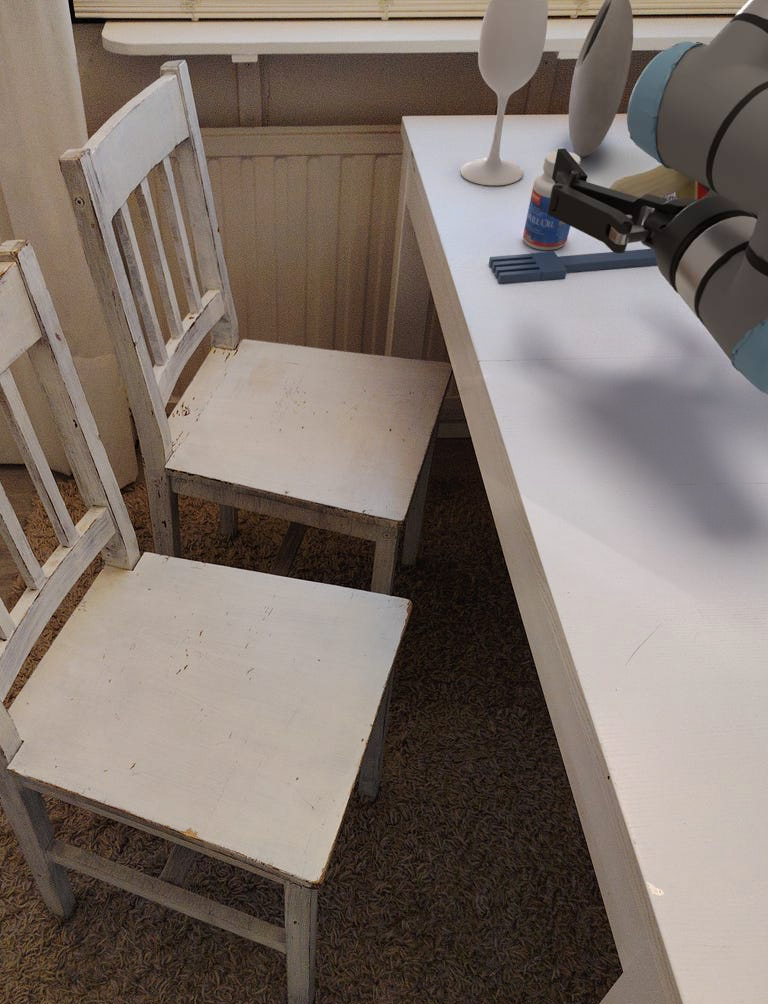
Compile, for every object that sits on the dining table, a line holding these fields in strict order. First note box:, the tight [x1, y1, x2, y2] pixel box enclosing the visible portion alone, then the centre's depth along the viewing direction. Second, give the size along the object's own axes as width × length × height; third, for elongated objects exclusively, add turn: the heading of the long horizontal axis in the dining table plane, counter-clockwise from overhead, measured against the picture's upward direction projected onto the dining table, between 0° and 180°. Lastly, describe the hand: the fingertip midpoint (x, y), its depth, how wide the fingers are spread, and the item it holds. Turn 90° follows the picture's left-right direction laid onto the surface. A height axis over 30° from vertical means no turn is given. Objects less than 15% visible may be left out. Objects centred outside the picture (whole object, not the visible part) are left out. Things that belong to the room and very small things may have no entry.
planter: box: [568, 0, 634, 157], centre depth 113 cm, size 18×7×19 cm, turn 165°
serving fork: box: [488, 248, 658, 284], centre depth 98 cm, size 20×5×1 cm, turn 97°
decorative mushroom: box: [609, 164, 708, 200], centre depth 104 cm, size 11×11×15 cm
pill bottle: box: [522, 150, 581, 251], centre depth 99 cm, size 6×5×10 cm
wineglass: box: [460, 0, 549, 186], centre depth 108 cm, size 9×9×21 cm
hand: (624, 157), depth 82 cm, fingers open, 13 cm apart
